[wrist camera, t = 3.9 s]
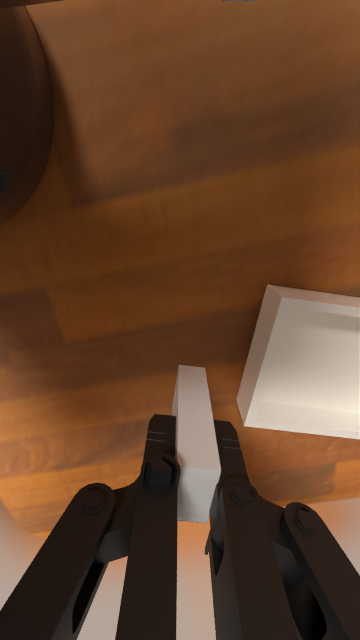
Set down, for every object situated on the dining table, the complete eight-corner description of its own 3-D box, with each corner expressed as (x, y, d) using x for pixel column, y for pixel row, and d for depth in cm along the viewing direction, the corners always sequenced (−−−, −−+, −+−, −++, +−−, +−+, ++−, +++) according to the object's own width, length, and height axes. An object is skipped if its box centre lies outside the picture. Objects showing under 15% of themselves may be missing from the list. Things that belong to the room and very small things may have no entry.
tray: (236, 399, 22) (244, 426, 20) (267, 284, 19) (282, 297, 16) (372, 415, 23) (398, 443, 20) (428, 306, 19) (470, 323, 17)
